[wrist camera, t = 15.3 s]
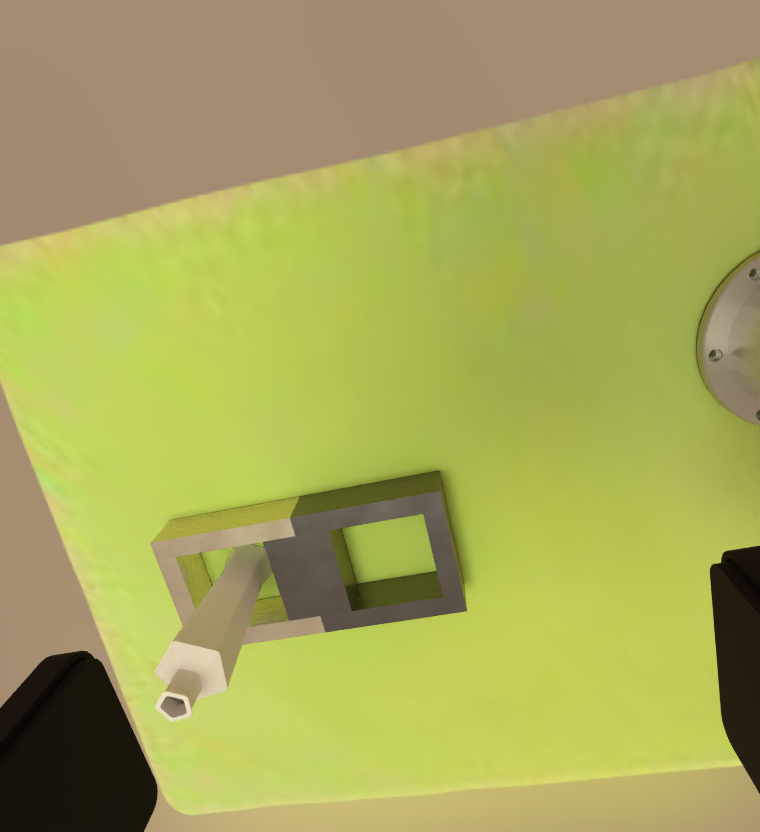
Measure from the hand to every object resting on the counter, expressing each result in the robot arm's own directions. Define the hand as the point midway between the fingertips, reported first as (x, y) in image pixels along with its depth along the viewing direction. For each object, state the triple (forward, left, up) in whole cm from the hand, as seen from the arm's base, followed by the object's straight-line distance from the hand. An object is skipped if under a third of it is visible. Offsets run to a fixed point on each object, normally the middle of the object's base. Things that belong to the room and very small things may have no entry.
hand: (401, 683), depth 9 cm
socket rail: (+12, +16, -33) cm, 39 cm away
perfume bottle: (+18, +16, -34) cm, 41 cm away
